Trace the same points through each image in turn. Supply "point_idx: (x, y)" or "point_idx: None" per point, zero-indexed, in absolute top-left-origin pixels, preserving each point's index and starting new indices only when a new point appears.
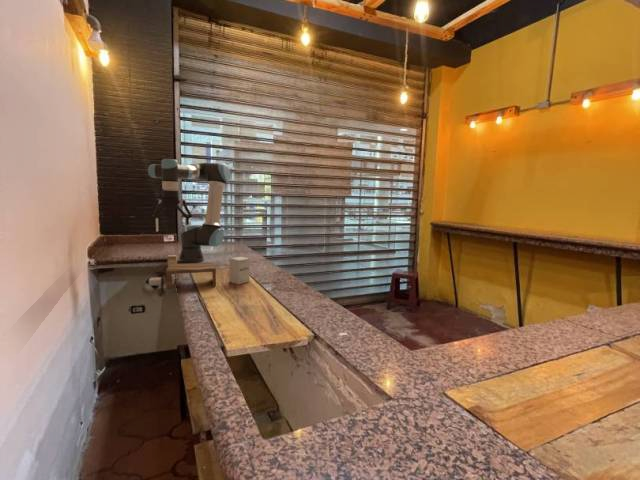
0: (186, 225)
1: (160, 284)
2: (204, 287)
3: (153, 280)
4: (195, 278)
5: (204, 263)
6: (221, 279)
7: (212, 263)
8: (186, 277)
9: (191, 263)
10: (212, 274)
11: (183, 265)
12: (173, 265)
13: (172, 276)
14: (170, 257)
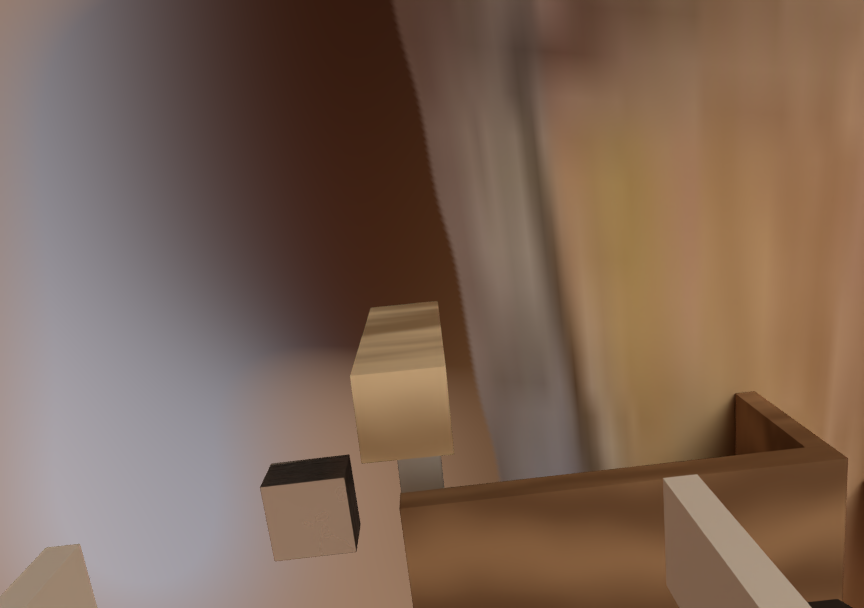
0: (763, 554)
1: (358, 518)
2: None
3: (308, 555)
4: (596, 359)
5: (743, 498)
6: (806, 406)
7: (822, 501)
8: (518, 322)
9: (615, 493)
10: (756, 413)
11: (547, 570)
12: (453, 566)
13: (432, 479)
14: (394, 455)
